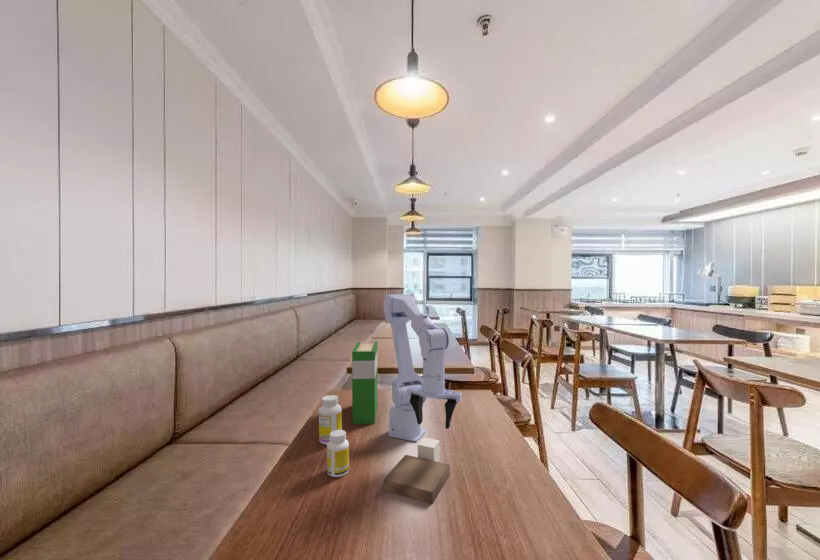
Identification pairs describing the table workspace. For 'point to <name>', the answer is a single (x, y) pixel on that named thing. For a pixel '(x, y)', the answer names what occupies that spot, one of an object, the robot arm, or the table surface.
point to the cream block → (429, 449)
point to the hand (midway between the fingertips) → (433, 425)
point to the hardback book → (364, 383)
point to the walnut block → (417, 478)
